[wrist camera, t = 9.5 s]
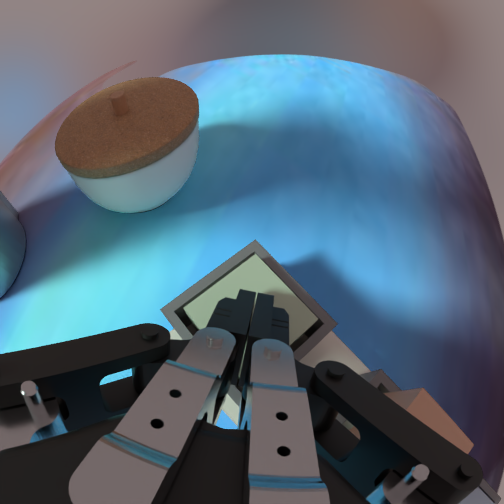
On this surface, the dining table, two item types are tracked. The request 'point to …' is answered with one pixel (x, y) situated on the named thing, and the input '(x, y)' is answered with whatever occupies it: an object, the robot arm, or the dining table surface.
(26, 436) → the robot arm
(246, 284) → the sage key
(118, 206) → the lidded jar
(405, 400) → the terracotta key
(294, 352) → the keypad board
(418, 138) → the dining table surface
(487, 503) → the slate key
